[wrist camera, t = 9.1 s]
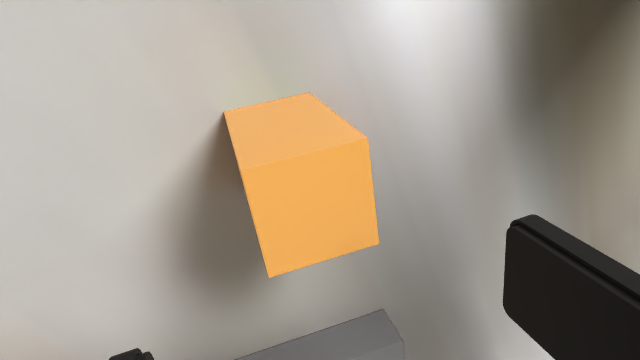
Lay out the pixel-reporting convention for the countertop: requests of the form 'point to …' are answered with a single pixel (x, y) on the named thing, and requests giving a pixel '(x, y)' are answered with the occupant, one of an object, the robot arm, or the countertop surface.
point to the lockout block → (304, 181)
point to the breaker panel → (343, 342)
